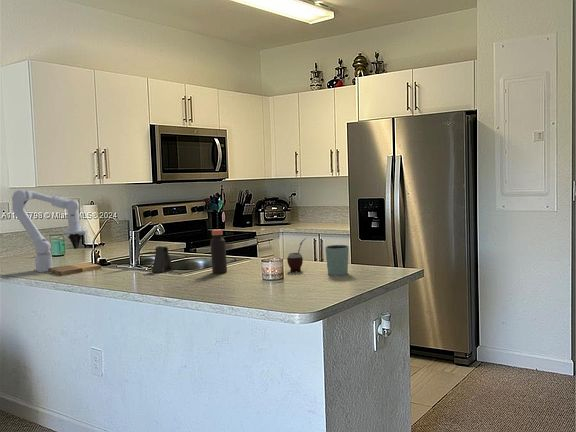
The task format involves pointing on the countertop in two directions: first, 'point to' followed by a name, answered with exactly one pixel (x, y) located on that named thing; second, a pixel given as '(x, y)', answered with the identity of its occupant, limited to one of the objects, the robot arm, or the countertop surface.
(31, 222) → the robot arm
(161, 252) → the door stopper
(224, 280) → the countertop surface
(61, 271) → the walnut plank
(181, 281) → the countertop surface
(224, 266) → the bottle
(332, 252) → the grey-green cup
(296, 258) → the mate gourd
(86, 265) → the oak plank
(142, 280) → the countertop surface
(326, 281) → the countertop surface
